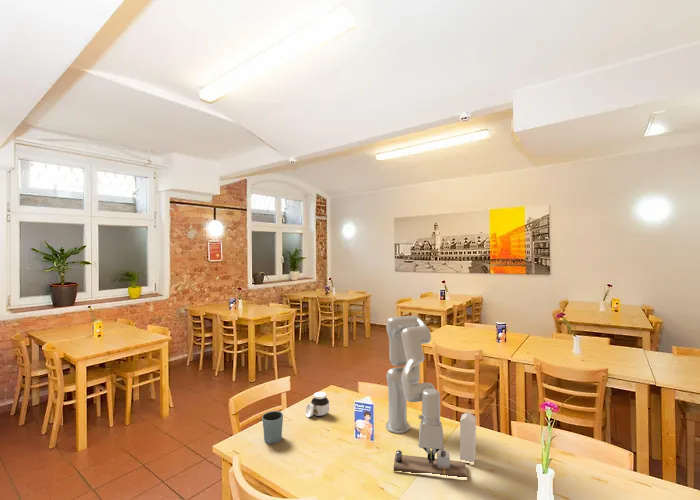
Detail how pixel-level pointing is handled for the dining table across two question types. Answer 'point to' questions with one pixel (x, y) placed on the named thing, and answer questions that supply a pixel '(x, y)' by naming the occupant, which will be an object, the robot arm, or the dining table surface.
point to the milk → (468, 437)
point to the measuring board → (429, 466)
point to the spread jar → (318, 405)
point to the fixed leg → (399, 456)
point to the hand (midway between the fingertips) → (431, 461)
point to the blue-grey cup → (272, 426)
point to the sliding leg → (443, 460)
